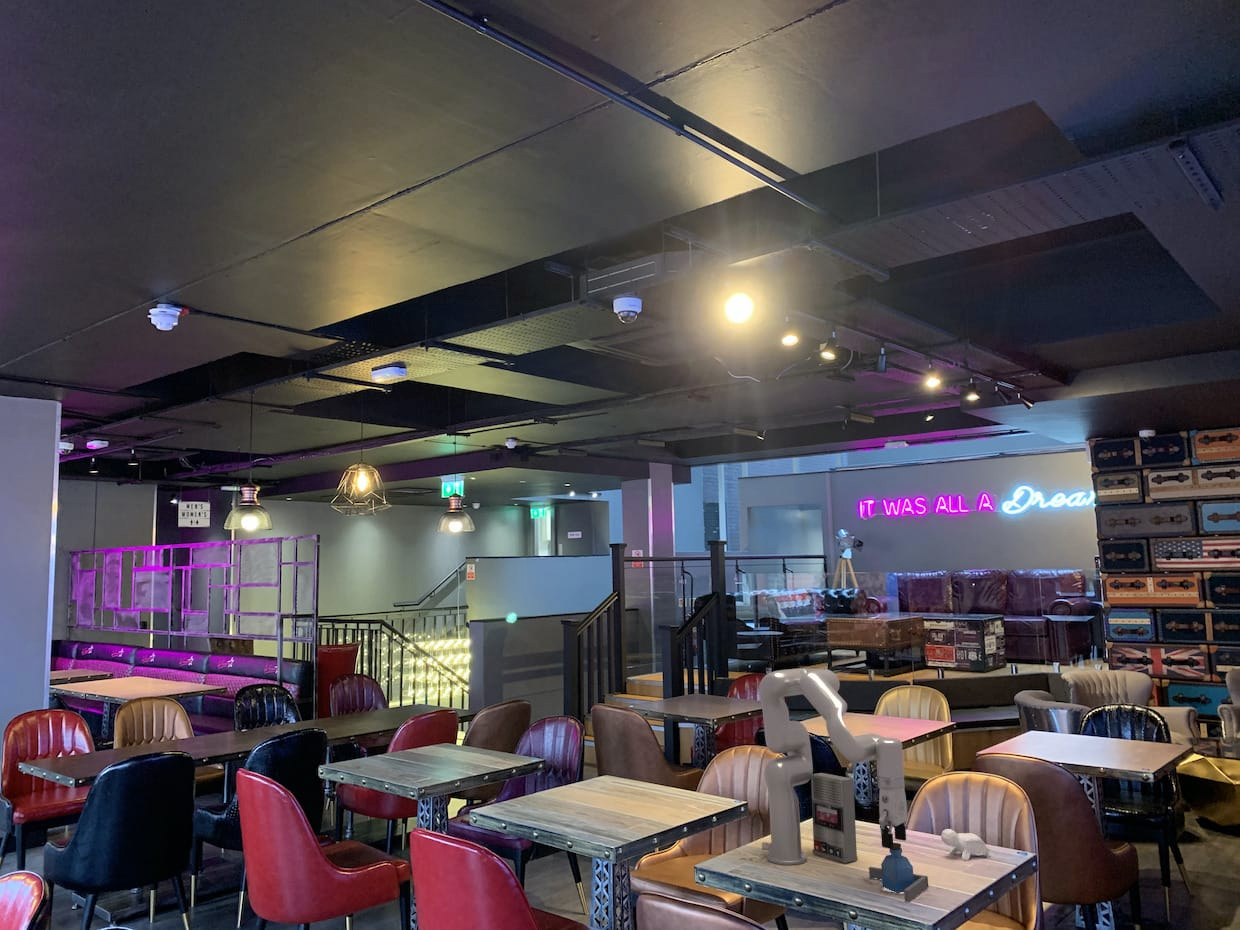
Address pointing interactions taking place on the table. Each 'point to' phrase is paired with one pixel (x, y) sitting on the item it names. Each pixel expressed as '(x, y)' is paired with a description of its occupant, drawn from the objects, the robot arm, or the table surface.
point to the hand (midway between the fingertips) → (894, 843)
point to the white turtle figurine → (964, 844)
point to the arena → (910, 891)
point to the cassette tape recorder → (833, 817)
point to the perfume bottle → (896, 870)
